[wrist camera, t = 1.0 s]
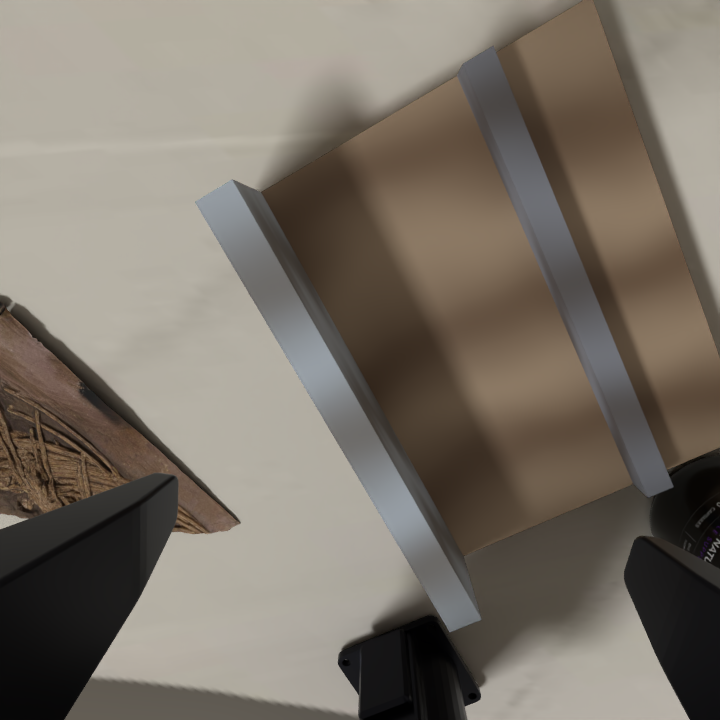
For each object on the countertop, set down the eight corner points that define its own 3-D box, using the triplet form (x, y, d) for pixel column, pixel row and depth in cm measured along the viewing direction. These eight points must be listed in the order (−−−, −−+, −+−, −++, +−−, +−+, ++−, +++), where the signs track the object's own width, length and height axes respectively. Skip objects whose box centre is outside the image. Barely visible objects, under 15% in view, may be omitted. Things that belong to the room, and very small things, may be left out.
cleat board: (723, 423, 22) (832, 479, 17) (433, 548, 25) (449, 632, 19) (574, 15, 18) (657, -79, 13) (241, 212, 20) (194, 202, 15)
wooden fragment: (-252, 362, 23) (-281, 368, 22) (-191, 176, 21) (-219, 173, 20) (179, 602, 27) (172, 616, 26) (276, 465, 24) (272, 475, 23)
